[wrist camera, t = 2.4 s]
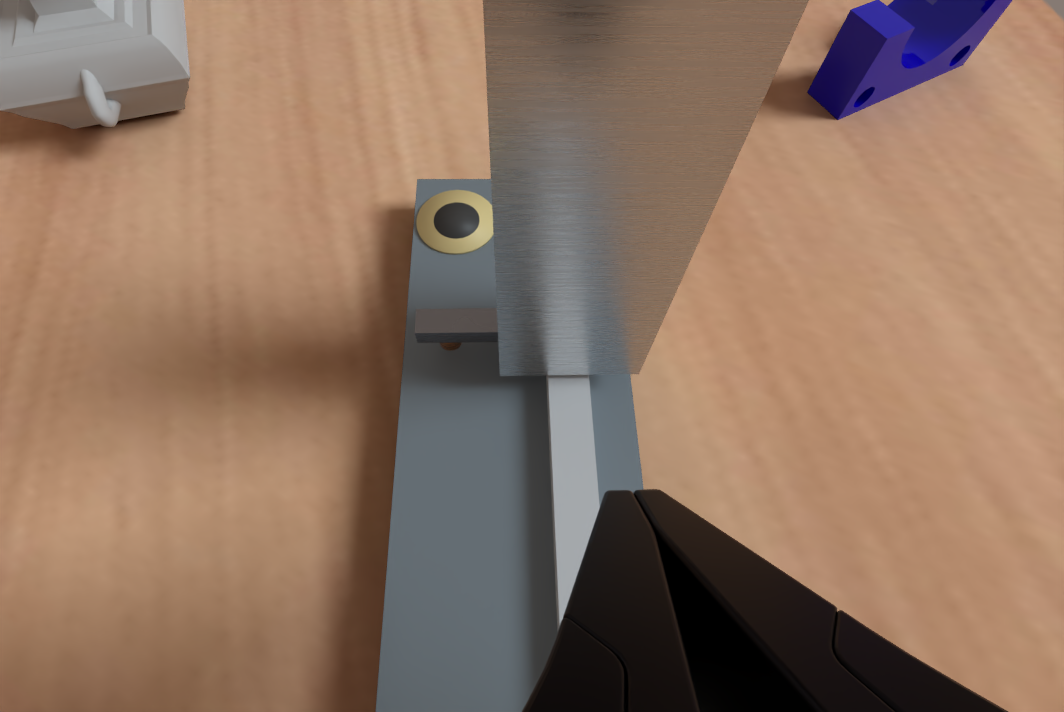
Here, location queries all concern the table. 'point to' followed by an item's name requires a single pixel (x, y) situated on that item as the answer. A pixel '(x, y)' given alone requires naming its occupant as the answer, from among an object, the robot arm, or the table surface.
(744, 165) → the table surface
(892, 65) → the cable holder
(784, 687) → the robot arm
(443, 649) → the plate
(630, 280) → the sliding jaw
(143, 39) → the stamp
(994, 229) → the table surface
